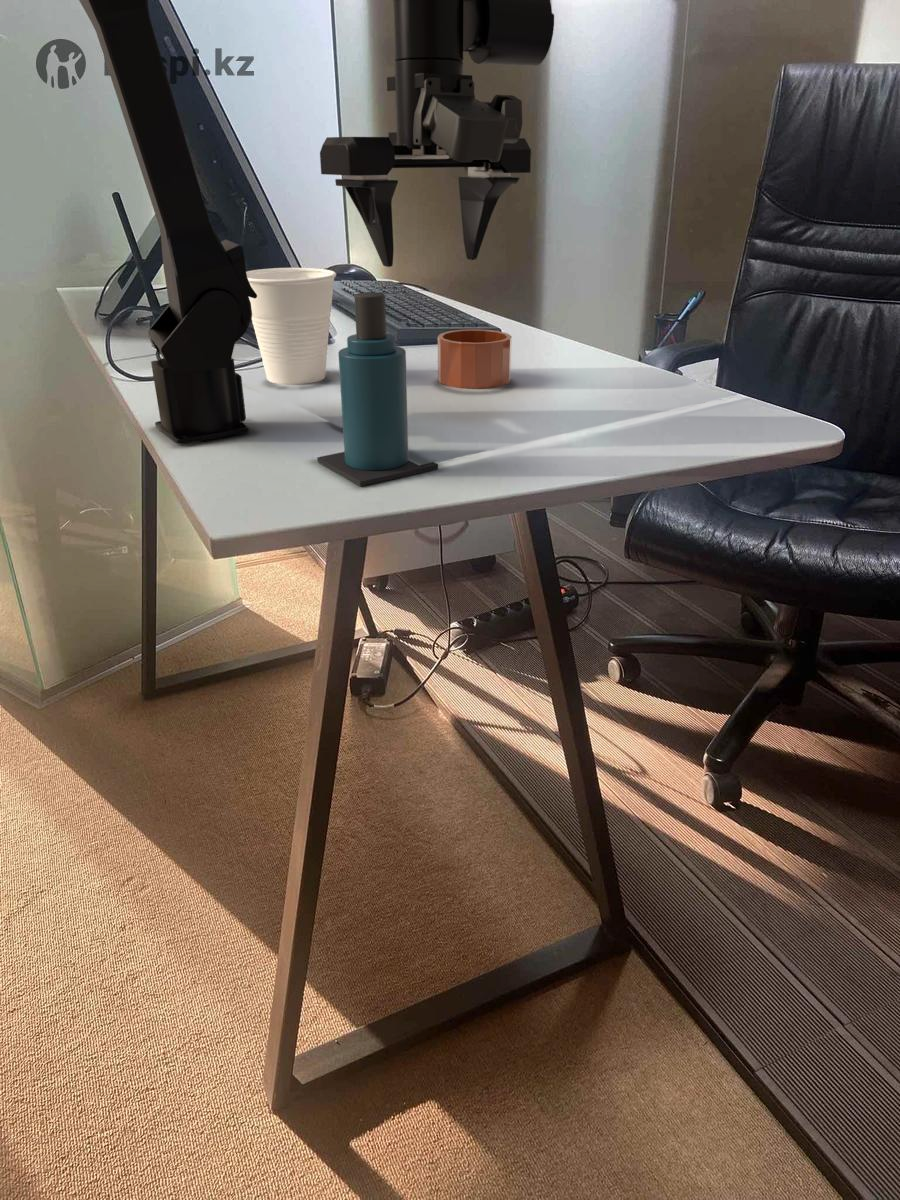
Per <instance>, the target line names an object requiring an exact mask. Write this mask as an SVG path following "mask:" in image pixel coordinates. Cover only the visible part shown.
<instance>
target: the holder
mask: <svg viewBox="0 0 900 1200" xmlns="http://www.w3.org/2000/svg"><path fill="white" fill-rule="evenodd" d="M512 340H513V336H512V335H511V334H509V333H508V332H503V331H499V330H491V329H475V328H474V329H473V328H472V329H457V330H450V331H449V330H448V331H445V332H442V333H439V335H437V380H438V383H440V384H442V385H443V386H446V387H450V388H455V389H464V390H465V389H466V390H482V389H485V390H486V389H493V388H500V387H503V386H506V385H507V384H509V383H510V382H511V378H512V375H511V373H512V345H513V344H512V343H513V342H512Z"/></svg>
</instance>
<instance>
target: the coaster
mask: <svg viewBox="0 0 900 1200" xmlns="http://www.w3.org/2000/svg"><path fill="white" fill-rule="evenodd" d="M316 459H317V463H318V464H321V465H322V466H324V467H326V468H327V469H329V470H330V471H333V472H334V473H336V474H338V475H339V476H341V477H343V478H345V479H346V480H348V481H350V482H352V483H354V485H356V486H359V487H365V486H368V485H374V484H377V483H382V482H386V481H391V480H395V479H399V478H404V477H409V476H413V475H417V474H422V473H426V472H430V471H435V470H439V464H438V463H436V462H435V461H432V462H428V463H423V464H417V463H416V462H413V461H411V460H409V459H408V462H407V463H406V464H404V465H403V466H400V467H397V468H394V469H389V470H379V471H369V470H360V469H356V468H352V467H350V466H348V465H347V464H346V462H345V453H344V451H342V452H335V453H331V454H327V455H322V456H317V457H316Z"/></svg>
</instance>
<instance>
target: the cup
mask: <svg viewBox="0 0 900 1200" xmlns="http://www.w3.org/2000/svg"><path fill="white" fill-rule="evenodd" d="M246 274H247V278H248V281H249V283H250V286H251V287H252V289H253V290H254V291H255V293H256V294H257V298H251V297H249V300H250V302H251V309H252V320H251V323H252V326H253V330H254V334H255V337H256V340H257V344H258V349H259V353H260V357H261V359H262V364H263V368H264V372H265V377H266V380H267V381H268V382H270V383H273V384H279V385H307V384H312V383H317V382H320V381H322V380H324V379H325V378H326V372H327V371H326V370H327V359H328V358H327V357H328V346H329V336H330V325H331V324H330V322H331V312H332V304H333V294H334V283H335V279H336V277H337V272H335V271H334V270H330V269H325V268H316V267H273V268H262V269H261V268H260V269H253V270H248V271H247V270H246Z"/></svg>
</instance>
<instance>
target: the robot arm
mask: <svg viewBox="0 0 900 1200" xmlns="http://www.w3.org/2000/svg"><path fill="white" fill-rule="evenodd" d="M78 1H79V3H80V5H81V6H82V8H83V9H84V12H85V14H86V15H87V17H88V19H89V21H90V22H91V24H92V27H93V29H94V30H95V33H96V36H97V39H98V42H99V46H100V48H101V52H102V54H103V59H104V61H105V64H106V68H107V69H108V73H109V76H110V80H111V82H112V86H113V88H114V92H115V95H116V97H117V100H118V103H119V107H120V110H121V112H122V116H123V120H124V123H125V125H126V129H127V131H128V135H129V137H130V140H131V143H132V147H133V150H134V153H135V156H136V159H137V162H138V165H139V168H140V172H141V175H142V177H143V180H144V184H145V188H146V190H147V193H148V197H149V200H150V202H151V206H152V209H153V211H154V214H155V218H156V222H157V224H158V228H159V234H160V242H161V244H160V245H161V254H162V255H161V256H162V263H163V265H162V266H163V274H164V280H165V286H166V294H167V298H168V304H167V306H166V307H165V308H164V309H163V311H162V312H161V313H160V315H159V316H157V318H156V319H155V321H154V322H153V323H152V325H150V327H149V328H148V330H147V335H148V337H149V338H150V340H151V342H152V344H153V346H154V348H155V350H156V352H157V353H158V354H159V355H160V356H161V357H162V358H161V359H157V360H151V361H150V364H151V371H152V377H153V382H154V389H155V395H156V401H157V407H158V413H159V419H160V420H158V421H155V422H154V426H155V429H156V430H158V431H159V432H161V433H162V434H164V435H165V436H166V437H168V438H169V439H170V440H171V441H173V442H175V443H176V444H179V445H185V444H189V443H197V442H201V441H206V440H207V441H208V440H212V439H217V438H223V437H229V436H235V435H241V434H245V433H249V432H250V426H249V425H247V424H246V423H244V422H245V421H246V420H247V415H246V405H245V397H244V388H243V378H242V375H240V374H239V373H237V372H236V365H235V359H234V358H233V353H234V349H235V345H236V342H238V341H239V340H240V339H241V338H242V337H243V336H244V335H245V334H246V332H247V330H248V328H249V326H250V324H251V323H252V309H251V302H250V300H249V297H251V298H257V294H256V293H255V291H254V290H253V289H252V287H251V286H250V283H249V281H248V278H247V274H246V272H247V268H246V260H245V253H244V249H243V246H242V245H241V244H238V243H236V242H233V241H231V240H228V239H224V240H222V241H221V240H220V238H219V236H218V235H217V232H216V231H215V228H214V227H213V225H212V223H211V220H210V217H209V214H208V211H207V208H206V204H205V201H204V197H203V194H202V191H201V190H202V189H201V188H200V184H199V180H198V177H197V174H196V173H197V172H196V170H195V166H194V163H193V159H192V157H191V153H190V149H189V146H188V143H187V140H186V135H185V133H184V129H183V126H182V122H181V120H180V115H179V112H178V109H177V105H176V102H175V98H174V95H173V92H172V88H171V86H170V85H171V84H170V82H169V78H168V75H167V72H166V68H165V65H164V61H163V59H162V54H161V51H160V48H159V44H158V41H157V37H156V35H155V31H154V27H153V24H152V21H151V16H150V9H149V0H78ZM392 15H393V17H392V19H393V47H394V48H393V52H394V53H393V54H394V55H393V56H394V76H387V77H386V91H387V92H394V93H395V95H394V96H395V130H396V131H391V132H388V136H331V137H330V136H329V137H328V136H327V137H326V138H325V139H324V141H323V144H322V146H321V147H320V151H319V161H320V162H319V163H320V174H321V175H326V176H327V175H330V176H342V178H335V186H337V187H344V189H345V190H346V192H347V194H348V195H349V197H350V199H351V201H352V203H353V204H354V206H355V208H356V210H357V212H358V213H359V215H360V217H361V219H362V221H363V223H364V226H365V227H366V228H365V229H366V231H367V232H368V235H369V237H370V239H371V242H372V244H373V245H374V248H375V250H376V253H377V255H378V257H379V259H380V261H381V265H382V266H383V267H387V268H391V267H393V264H394V253H395V251H394V248H395V247H394V228H393V207H392V201H393V197H394V195H395V192H396V189H397V186H398V185H399V184H398V183H399V180H398V179H389V174H390V172H391V171H392V170H393V169H428V168H429V169H433V168H435V169H437V168H441V169H442V168H464V170H465V171H466V172H467V176H458V179H457V180H458V190H459V192H458V193H459V202H460V214H461V227H462V239H463V247H464V251H465V252H464V253H465V256H466V259H467V260H468V261H476V260H477V259H478V256H479V253H480V249H481V246H482V244H483V241H484V238H485V235H486V232H487V229H488V227H489V222H490V220H491V217H492V216H493V215H492V214H493V212H494V210H495V207H496V205H497V204H498V201H499V199H500V198H501V197H502V195H503V194H504V193H505V192H506V190H508V189H509V187H511V185H517V184H519V181H520V179H521V177H519V176H517V177H515V176H513V177H512V176H511V174H524V173H525V174H528V173H529V174H530V173H532V154H533V153H532V149H531V147H530V145H529V143H528V141H527V140H526V138H525V137H521V132H522V129H523V128H522V127H523V101H522V99H520V98H518V97H517V96H515V95H513V94H495V95H494V96H493V98H492V100H491V102H490V101H481V100H478V99H476V95H475V82H474V80H473V75H472V74H471V75H469V74H464V53H468V55H469V57H470V59H471V60H472V62H473V63H474V64H477V65H495V66H496V65H497V66H498V65H499V66H519V67H537V66H539V65H540V64H542V63H543V61H544V60H545V59H546V57H547V55H548V53H549V51H550V47H551V44H552V41H553V37H554V31H555V29H554V28H555V14H554V13H553V9H552V3H551V0H392ZM421 149H422V154H414V152H413V151H414V150H421ZM438 150H443V151H444V152H446V153H445V154H444V153H443V154H438Z"/></svg>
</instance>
